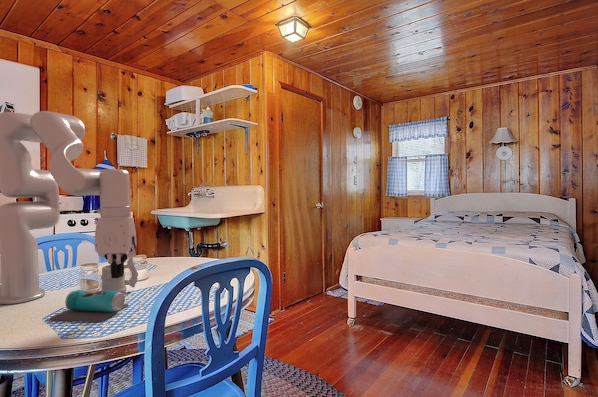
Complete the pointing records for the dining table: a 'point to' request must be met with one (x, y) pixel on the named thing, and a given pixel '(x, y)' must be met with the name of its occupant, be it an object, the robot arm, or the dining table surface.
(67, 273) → the dining table surface
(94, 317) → the mat
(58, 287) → the dining table surface
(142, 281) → the dining table surface
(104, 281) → the mug
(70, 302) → the beverage can
